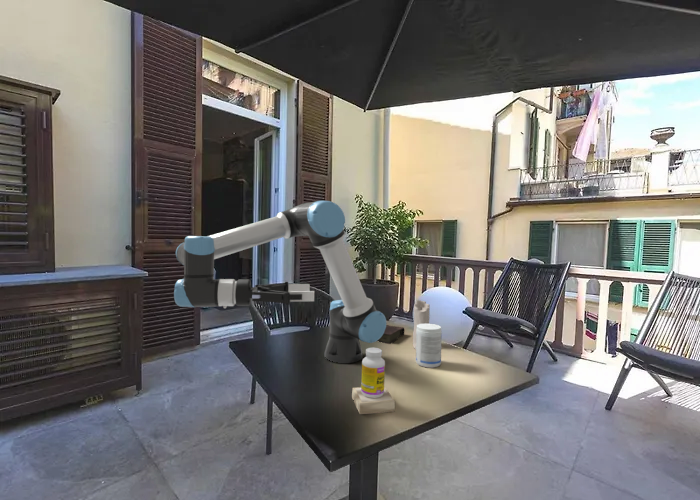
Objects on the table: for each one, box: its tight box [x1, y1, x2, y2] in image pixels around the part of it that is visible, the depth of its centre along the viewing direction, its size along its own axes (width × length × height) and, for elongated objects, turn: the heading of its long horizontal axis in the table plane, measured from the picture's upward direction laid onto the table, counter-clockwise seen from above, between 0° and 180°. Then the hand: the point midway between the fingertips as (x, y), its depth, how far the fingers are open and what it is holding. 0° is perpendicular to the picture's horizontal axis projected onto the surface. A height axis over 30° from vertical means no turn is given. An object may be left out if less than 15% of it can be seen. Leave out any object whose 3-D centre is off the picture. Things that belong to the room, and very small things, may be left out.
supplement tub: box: [415, 323, 443, 369], centre depth 135 cm, size 10×10×15 cm
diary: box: [376, 324, 405, 345], centre depth 172 cm, size 19×25×5 cm
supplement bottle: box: [360, 347, 386, 398], centre depth 101 cm, size 7×7×13 cm
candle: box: [412, 299, 430, 350], centre depth 155 cm, size 7×14×20 cm, turn 173°
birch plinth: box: [351, 385, 396, 415], centre depth 101 cm, size 10×10×3 cm
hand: (311, 292), depth 102 cm, fingers open, 13 cm apart
